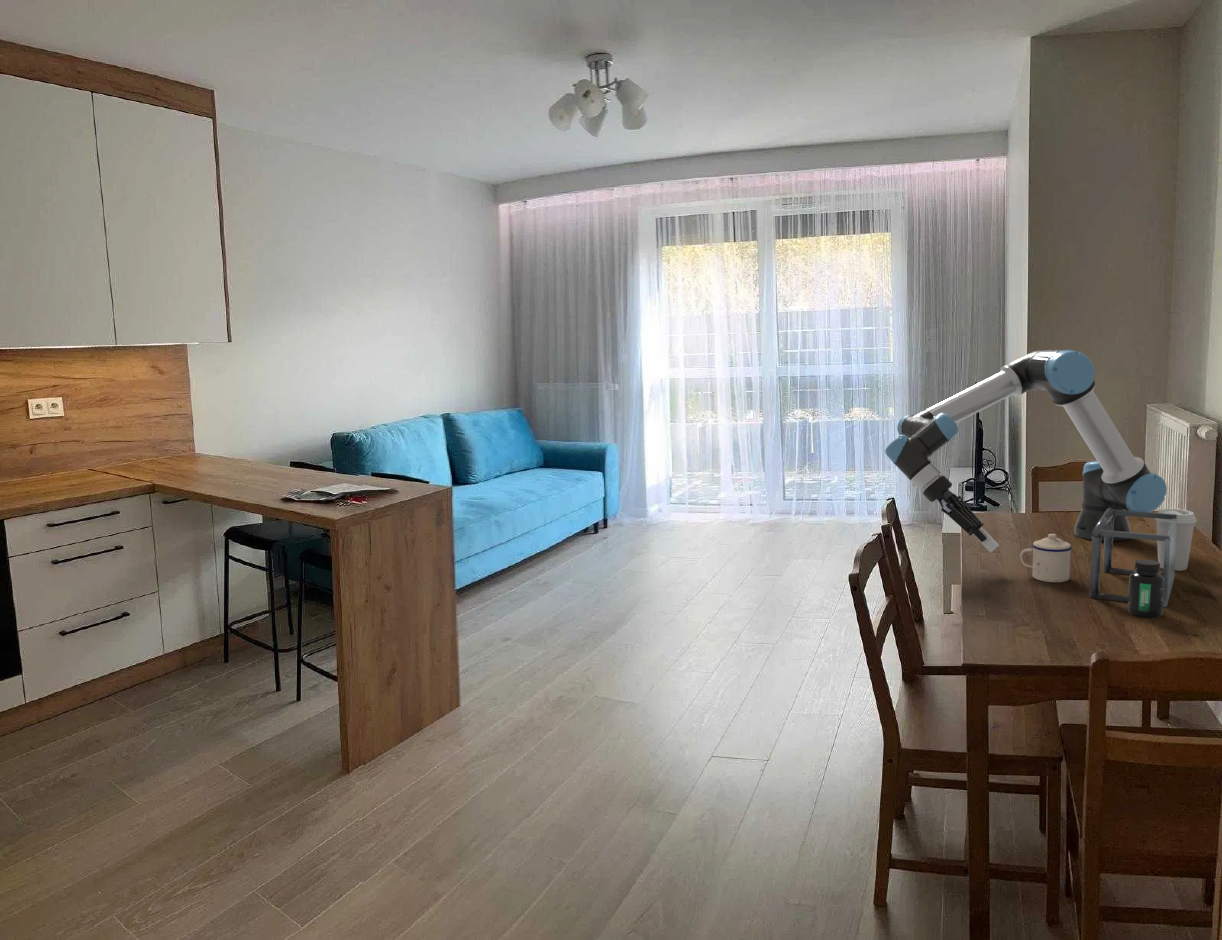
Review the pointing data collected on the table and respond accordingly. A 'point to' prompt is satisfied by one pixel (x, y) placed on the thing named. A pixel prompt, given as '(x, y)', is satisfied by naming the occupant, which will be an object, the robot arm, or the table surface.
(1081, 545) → the table surface
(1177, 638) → the table surface
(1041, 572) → the teacup with lid
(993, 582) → the table surface
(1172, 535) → the box
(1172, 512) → the coffee cup
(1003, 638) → the table surface
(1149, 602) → the supplement bottle
